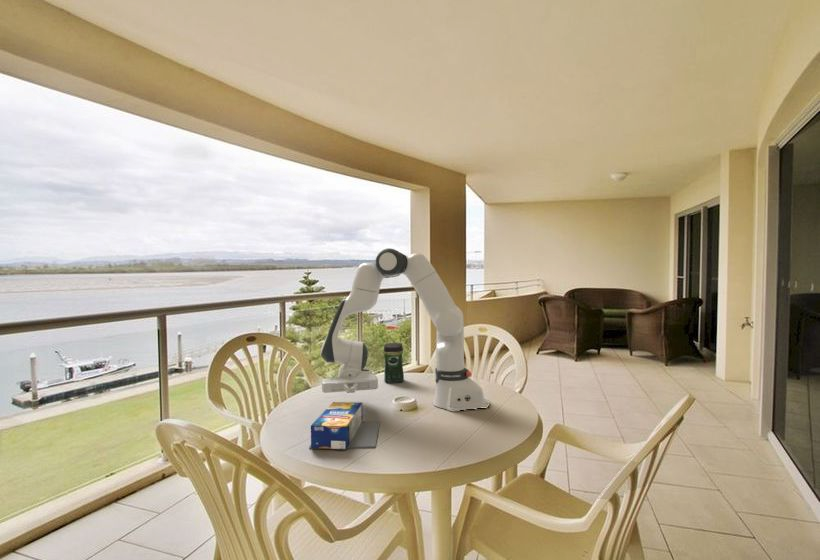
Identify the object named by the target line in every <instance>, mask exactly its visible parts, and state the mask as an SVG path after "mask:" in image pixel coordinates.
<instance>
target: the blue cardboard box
mask: <svg viewBox="0 0 820 560" xmlns="http://www.w3.org/2000/svg"><path fill="white" fill-rule="evenodd" d="M363 408H364V406H363V402H347V401H346V402H344V401H343V402H342V401H340V402H339V401H334V402H331V404H330V405H329V406H328V407H327V408H326V409H324V411H323V412H322V413H321V414H320V415H319V417H318V418H316V419H315V421H314V422H313V423H311V425H310V445H311V448H323V450H324V449H326V450H328V449H329V450H347V449H348V448H347V447H348V445H349V444H350V442H351V440H352V438H353V437H354V435H355V433H356V432H357V430H358V428H359V426H360V425H361V423H362V422H364V415H363V414H364V411H363Z"/></svg>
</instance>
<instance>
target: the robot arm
mask: <svg viewBox="0 0 820 560" xmlns="http://www.w3.org/2000/svg"><path fill="white" fill-rule="evenodd" d="M357 267H358V268H357V270H356V273H355V276H354V279H353V282H352V287H351V291H350V292H349V295H348V296H347V297H345V298H342V300H341V301H340V303H339V305H338V306H337V307H338V308H337V309H336V312H335V315H334V316H333V320H332V321H331V324H330V327H329V330H328V333H327V335H326V336H325V337H326V338H325V339H324V340H323V343H322V344H321V348H320V357H321V358H322V359H323V360H324V361H325V362H326V363H334V364H335V363H336V364H341V365H340V367H339V369H338V376H337V377H335V376H334V377H326V378H324V379H323V380H322V382H321V390H322V393H323V394H324V393H325V394H326V393H327V394H328V393H343V392H345V393H346V394H349V393H350V394H351V393H356V391H368V390H369V391H370V390H378V388H379V378H378V377H377V375H376V374H375V373H374V372H373V370H372V369H365V368H366V366H367V362H368V357H369V356H368V353H369V352H368V348H367V345H366V343H365V342H363V341H360V340H354V339H353V340H351V339H345V338H340V337H339V333H340V331H341V328H342V325H343V322H344V320H345V319H346V318H347V317H349V316H350V315H353V314H358V313H364V312H367V311H369V310H371V309H373V308H375V307H374V306H376V305H377V302H378V298H379V294H380V289H381V284H382V281H383V280H384V279H388V278H395V277H399V276H400V275H404V276H406V278H408V281H409V282H410V284H411V285H412V287H413V288H414V290H415V292H416V293H417V295H418V298H419V299H420V301H421V302H422V304H423V306H424V308H425V311H426V312H427V315H428V316H429V318H430V320H431V322H432V324H433V325H434V327H435V329H436V343H435V344H436V345H435V357H436V358H435V361H436V364H435V365H436V367H435V369H434V380H435V389H434V390H435V391H434V396H433V399H432V400H433V401H432V404H433V406H435V407H437V408H440V409H445V410H447V411H450V412H461V411H460V410H464V411H467V410H466V409H474V408H481V407H487V406H489V404H491V403H490V400H489V399H488V397H487V396H485V394H484V391H483V388H482V386H481V385H480V384H479V383H477V382H476V381H475V380H473V379H472V378H471V377H472V375H473V373H472V372H471V371H470V370H469V369H468V368H466V367H465V358H464V357H465V355H464V354H465V353H464V352H465V347H464V346H465V345H464V343H465V342H464V338H465V337H464V336H465V335H464V334H465V333H464V331H465V330H464V327H465V326H464V325H465V323H464V314H463V311H462V310H461V309H460V308H459V307H458V306H457V305H456V303H455V302H454V300H453V298H452V296H451V294H450V293H449V290H448V289H447V287H446V285H445V283H444V282H443V281H442V279H441V277H440V276H439V274H438V273H437V270H436V269H435V267H434V266H433V264H432V263H431V262H430V261H429V260H428V258H426V256H425V255H424V254H423V253H420V252H414V253H411V254H409V255H405V254H404V253H402V252H400V251H398V250H396V249H395V248H390V247H389V248H384V249H382V250H381V251H379V252H378V253H377V255H376V257H375V262H363V263H361V264H360V265H359V266H357ZM489 407H490V406H489Z"/></svg>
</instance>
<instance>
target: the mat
mask: <svg viewBox="0 0 820 560" xmlns="http://www.w3.org/2000/svg"><path fill="white" fill-rule="evenodd" d="M380 424H381V421H375V420H374V421H363V422H362V423H361V425H360V426H359V428H358V430H357V432H356V433H355V435H354V437H353V438H352V440H351V442H350V444H349V445H348V447H347V449H375V448H376V446H377V441H378V440H377V439H378V433H379V430H380ZM312 449H313V450H314V449H315V450H316V449H317V450H321V449H323V448H311V444H310V445H309V450H312ZM323 450H324V449H323Z"/></svg>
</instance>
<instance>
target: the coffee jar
mask: <svg viewBox="0 0 820 560" xmlns="http://www.w3.org/2000/svg"><path fill="white" fill-rule="evenodd" d="M403 353H404V348H403V344H402V343H401V342H389V343H388V342H386V343H385V344H384V345H383V356H384V374H383V381H384V382H385V383H387V382H388V384H397V383H402V382H403V381H404V380H405V376H404V375H405V374H404V367H403Z"/></svg>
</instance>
